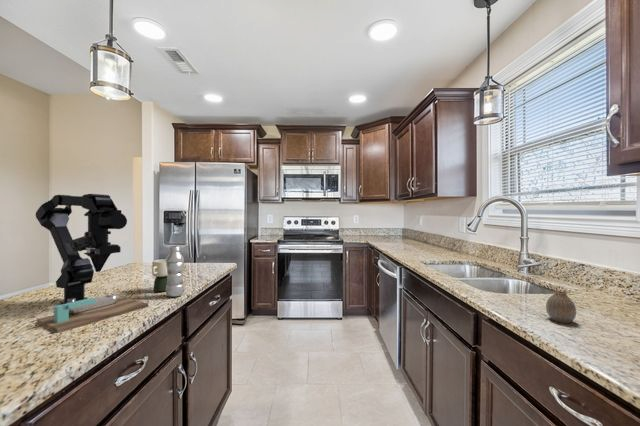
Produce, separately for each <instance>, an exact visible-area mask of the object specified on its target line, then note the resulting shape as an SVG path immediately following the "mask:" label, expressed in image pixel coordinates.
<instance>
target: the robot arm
mask: <svg viewBox="0 0 640 426" xmlns="http://www.w3.org/2000/svg"><path fill="white" fill-rule="evenodd" d="M58 206H65V207H58ZM72 206H75V207H76V206H77V207H79V206H80V207H81V208H83V209H85V210H88V211H87V212H85V213H84V214H83V216H84V217H87V231H85V232H84V235H83V236H80V237H78V238H74V239H73V237H72V235H71V233H70V231H69V228H68V223H69V220H70V217H69V216H70V215H71V214H72V213H73V209H72ZM35 218H36V220H37V221H38V222H39V225H40V226H41V227H43V228H44V229H47V230H48V231H49V232H50V235H51V238H52V239H53V242H54V243H55V247H56V248H57V251H58V253H59V255H60V258H61V260H62V263H63V264H62V266H61V269H60V275H59V277H58V278H57V279H56V280H55V285H56V288H59V289H63V300H60V301H59V304H66V303H67V299H69V298H76V301H80V300H84V299H89V298H88V297H85V295H86V293H85V292H86V291H85V286H86V284H90V283H92V281H93V278H94V272H95V273H100V272H102V271H101V270H102V269H103V267H104V266H105V264H106V262H107V261H108V259H109V257H110V256H111V254H119V253H121V252H122V251H121V246H120V245H119V244H112V243H111V241H110V242H109V235H111V233H112V232H111V230H122V229H124V228H125V227H126V225H127V223H128V219H127V217H126V216H125V214H124V213H122V210H121V209H118V207H117V206H116V205H115V203H114V201H113V199H112V198H111V195H109V194H101V193H86V194H83V195H70V194H69V195H68V194H55V195H54V196H52V198H51V199H50V200H48V201H46V202H44V203H42V204H41V205H40V206H39V208H38V209H37V210H36V212H35ZM82 251H86V252H83V254H84V255H86V256H87V257H88V258H86V257H85V258H83V257H81V254H80V252H82Z"/></svg>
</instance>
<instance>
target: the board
mask: <svg viewBox="0 0 640 426" xmlns="http://www.w3.org/2000/svg"><path fill="white" fill-rule="evenodd" d="M148 307H149V303H148V302H143V301H140V300H137V299H133V298H130V297H129V298H128V297H123V298H118V302H116V303H113V304H109V305H105V306H101V307H97V308H93V309H89V310H86V311H82V312H78V313H74V314H69V320H67V321H63V322H60V323H56V322H54V314H53V315H49V316H45V317H42V318H41V317H40V318H37V319H36V323H37V324H39V325H41V326H43V327H45V328H47V329H49V330H51V331H53V332H54V333H56V334H58V333H62V332H66V331H69V330H73V329H76V328H79V327H83V326H87V325H90V324H93V323H97V322H99V321H103V320H107V319H110V318H113V317H117V316H121V315H123V314H128V313H130V312H134V311H137V310H141V309H144V308H145V309H146V308H148Z"/></svg>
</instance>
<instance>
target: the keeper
mask: <svg viewBox="0 0 640 426" xmlns="http://www.w3.org/2000/svg"><path fill="white" fill-rule="evenodd" d="M95 298H96V297H89V298H88V299H84V300H80V301H75V302H71V303H66V304H63V303H61V304H58V305H55V306H53V315H54V322H56V323H60V322H63V321H67V320H69V309H71V308H75V307H79V306H84V305H88V304H92V303H96V299H95Z"/></svg>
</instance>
